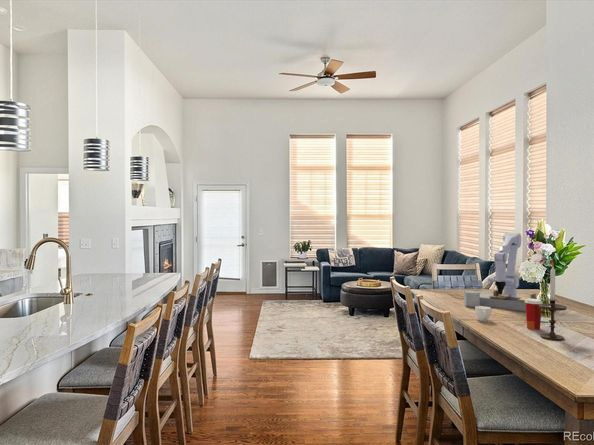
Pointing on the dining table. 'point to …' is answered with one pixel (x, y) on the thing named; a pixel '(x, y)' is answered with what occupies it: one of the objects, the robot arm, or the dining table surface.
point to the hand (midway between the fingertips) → (500, 294)
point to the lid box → (502, 302)
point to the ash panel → (527, 298)
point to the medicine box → (472, 299)
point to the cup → (483, 313)
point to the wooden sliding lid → (499, 295)
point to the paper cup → (533, 313)
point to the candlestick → (552, 309)
